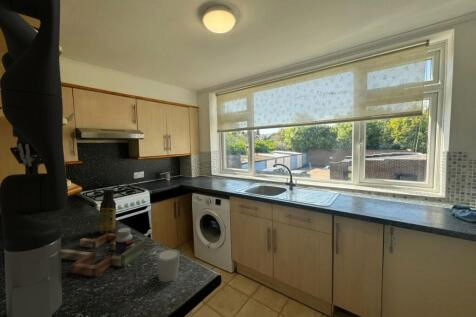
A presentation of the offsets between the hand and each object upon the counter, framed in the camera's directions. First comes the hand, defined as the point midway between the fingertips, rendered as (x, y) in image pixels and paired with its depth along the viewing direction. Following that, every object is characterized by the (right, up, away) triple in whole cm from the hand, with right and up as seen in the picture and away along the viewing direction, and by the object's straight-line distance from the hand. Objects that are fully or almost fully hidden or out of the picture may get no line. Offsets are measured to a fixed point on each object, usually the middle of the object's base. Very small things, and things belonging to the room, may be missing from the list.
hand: (32, 177), depth 63 cm
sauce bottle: (+5, -28, +29) cm, 40 cm away
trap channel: (+15, -29, +10) cm, 34 cm away
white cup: (+43, -31, 0) cm, 53 cm away
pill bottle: (+23, -30, +10) cm, 39 cm away
